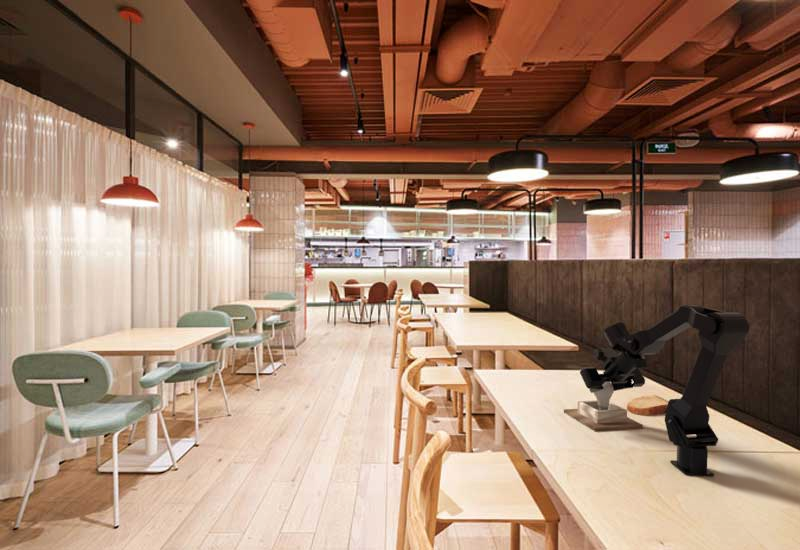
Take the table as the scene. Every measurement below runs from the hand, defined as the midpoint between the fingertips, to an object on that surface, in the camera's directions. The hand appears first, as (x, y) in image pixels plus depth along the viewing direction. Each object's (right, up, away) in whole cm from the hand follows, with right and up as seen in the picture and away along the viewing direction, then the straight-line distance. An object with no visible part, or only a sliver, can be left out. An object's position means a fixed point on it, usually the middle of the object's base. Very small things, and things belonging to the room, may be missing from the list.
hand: (599, 390), depth 135 cm
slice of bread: (+23, -10, +10) cm, 27 cm away
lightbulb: (+1, -7, -1) cm, 7 cm away
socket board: (0, -9, -1) cm, 9 cm away
